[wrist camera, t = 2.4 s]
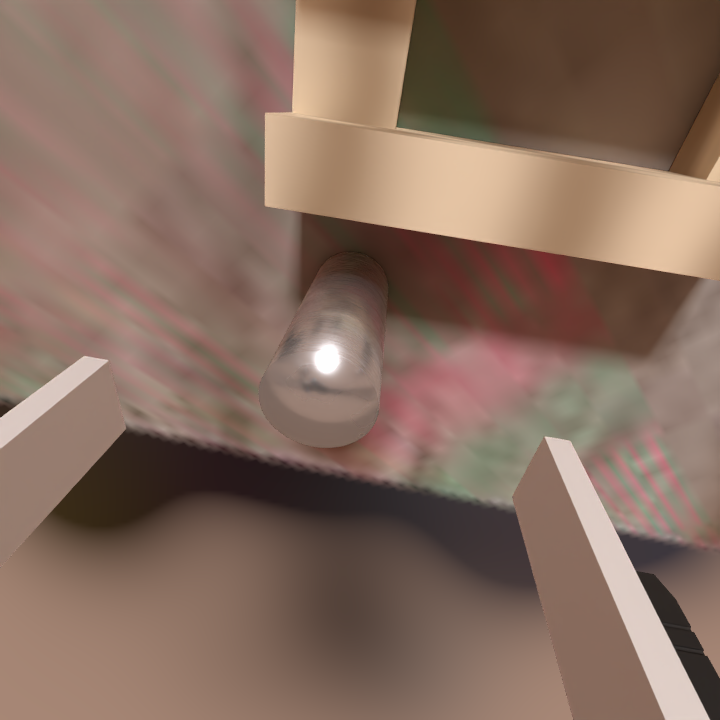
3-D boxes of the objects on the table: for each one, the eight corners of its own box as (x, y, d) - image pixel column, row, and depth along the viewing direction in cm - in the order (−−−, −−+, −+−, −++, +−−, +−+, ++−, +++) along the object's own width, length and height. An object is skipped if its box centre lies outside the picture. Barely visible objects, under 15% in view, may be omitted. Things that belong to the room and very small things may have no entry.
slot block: (302, 180, 19) (264, 205, 14) (323, -240, 12) (266, -492, 7) (719, 248, 18) (838, 300, 13) (968, -138, 12) (1378, -318, 7)
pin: (312, 315, 22) (258, 437, 14) (318, 245, 20) (257, 342, 12) (381, 326, 22) (369, 456, 14) (394, 258, 20) (388, 363, 12)
